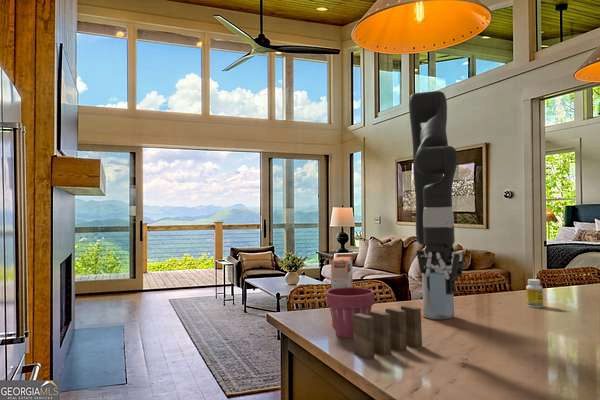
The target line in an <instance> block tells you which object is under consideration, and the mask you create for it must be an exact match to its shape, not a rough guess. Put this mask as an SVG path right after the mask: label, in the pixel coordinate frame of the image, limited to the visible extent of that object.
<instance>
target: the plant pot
mask: <svg viewBox="0 0 600 400" xmlns="http://www.w3.org/2000/svg"><path fill="white" fill-rule="evenodd" d="M325 293H326V294H325V295H326V299H325V300H326V305H327V306H328V307H329V308H330V309H329V310H330V314H331V321H332V320H333V324H334V326H333V327H334V333H335V335H336V336H337V337H338V338H344V339H354V335H353V314H358V313H360V314H364V315H368V316H370V311H372V308H373V306H374V305H375V291H374V290H373V289H371V288H367V287H355V286H353V287H343V288H334V289H332V288H330V289H328V290H326V292H325Z"/></svg>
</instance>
